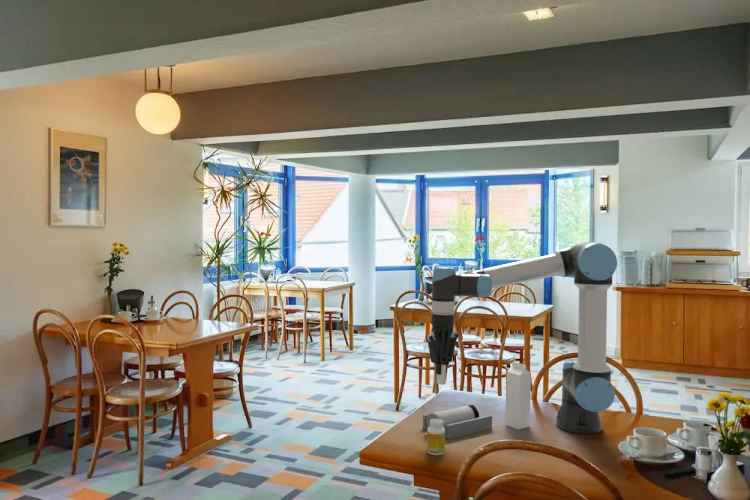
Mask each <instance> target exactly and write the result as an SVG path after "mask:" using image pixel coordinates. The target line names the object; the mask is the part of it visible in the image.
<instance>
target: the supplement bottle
mask: <svg viewBox="0 0 750 500" xmlns="http://www.w3.org/2000/svg"><path fill="white" fill-rule="evenodd" d="M442 426H443V420H441V419H431V420H430V427H428V430H427V429H426V431H427V432H426V433H427V435H426V436H427V437H426V452H427V453H428V454H429V455H432V456H442V455H444V454H445V450H446V447H445V446H446V438H445V429H444V428H443V427H442Z"/></svg>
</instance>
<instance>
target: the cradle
mask: <svg viewBox="0 0 750 500" xmlns="http://www.w3.org/2000/svg"><path fill="white" fill-rule="evenodd" d="M429 414H430V413H425V414H423V415H422V428H423V429H425V430H426V431H427V430H428V427H427V424H426V418H427V416H428V415H429ZM492 429H493V415H491V414H490V415H485V416H479V418H475V419H471V420H466V421H462V422H457V423H453V424H448V425H447V430H445V439H447V440H451V439H455V438H459V437H463V436H468V435H472V434H475V433H479V432H484V431H488V430H492Z"/></svg>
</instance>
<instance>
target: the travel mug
mask: <svg viewBox="0 0 750 500" xmlns="http://www.w3.org/2000/svg"><path fill="white" fill-rule="evenodd" d="M428 414H429V415H428V416H427V418H426V424H427V427H430V420H431V419H441V420H443V426H442V427H443V428H444V429H445V430H447V425H448V424H453V423H457V422H462V421H466V420H471V419H475V418H480V413H479V411H478V409H477V407H476V406H475V405H473V404H469V405H462V406H458V407H454V408H453V407H452V408H450V409H446V410H445V409H444V410H441V411H435V412H431V413H428Z"/></svg>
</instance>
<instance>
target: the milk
mask: <svg viewBox="0 0 750 500" xmlns="http://www.w3.org/2000/svg"><path fill="white" fill-rule="evenodd" d="M531 382H532V373H531V371H530V370H528V369H527V365H526V364H523V363H519V362H516V361H512V362H511V366H510V367H509V369H508V370H507V371H506V381H505V385H506V386H505V387H506V388H505V411H504V412H505V416H504V417H505V418H504V425H505V426H506V427H510V428H513V429H515V430H522V429H526V428H529V427H530V421H531V420H530V418H531V417H530V416H531V414H530V413H531V389H532V387H531V386H532V385H531V384H532V383H531Z"/></svg>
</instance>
